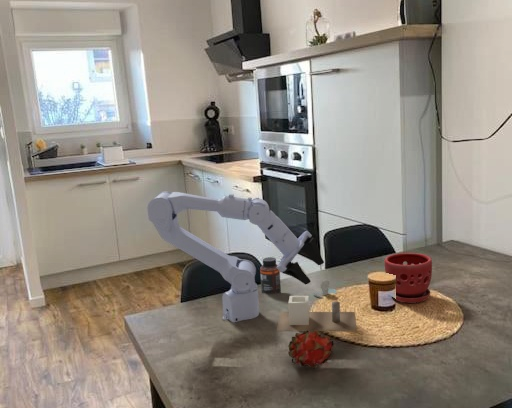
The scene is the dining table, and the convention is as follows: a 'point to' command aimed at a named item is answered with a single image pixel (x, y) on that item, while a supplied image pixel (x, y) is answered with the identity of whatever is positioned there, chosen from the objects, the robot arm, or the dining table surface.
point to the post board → (321, 321)
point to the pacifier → (325, 288)
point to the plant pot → (410, 276)
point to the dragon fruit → (310, 348)
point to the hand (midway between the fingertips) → (314, 273)
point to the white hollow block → (298, 310)
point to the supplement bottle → (270, 276)
